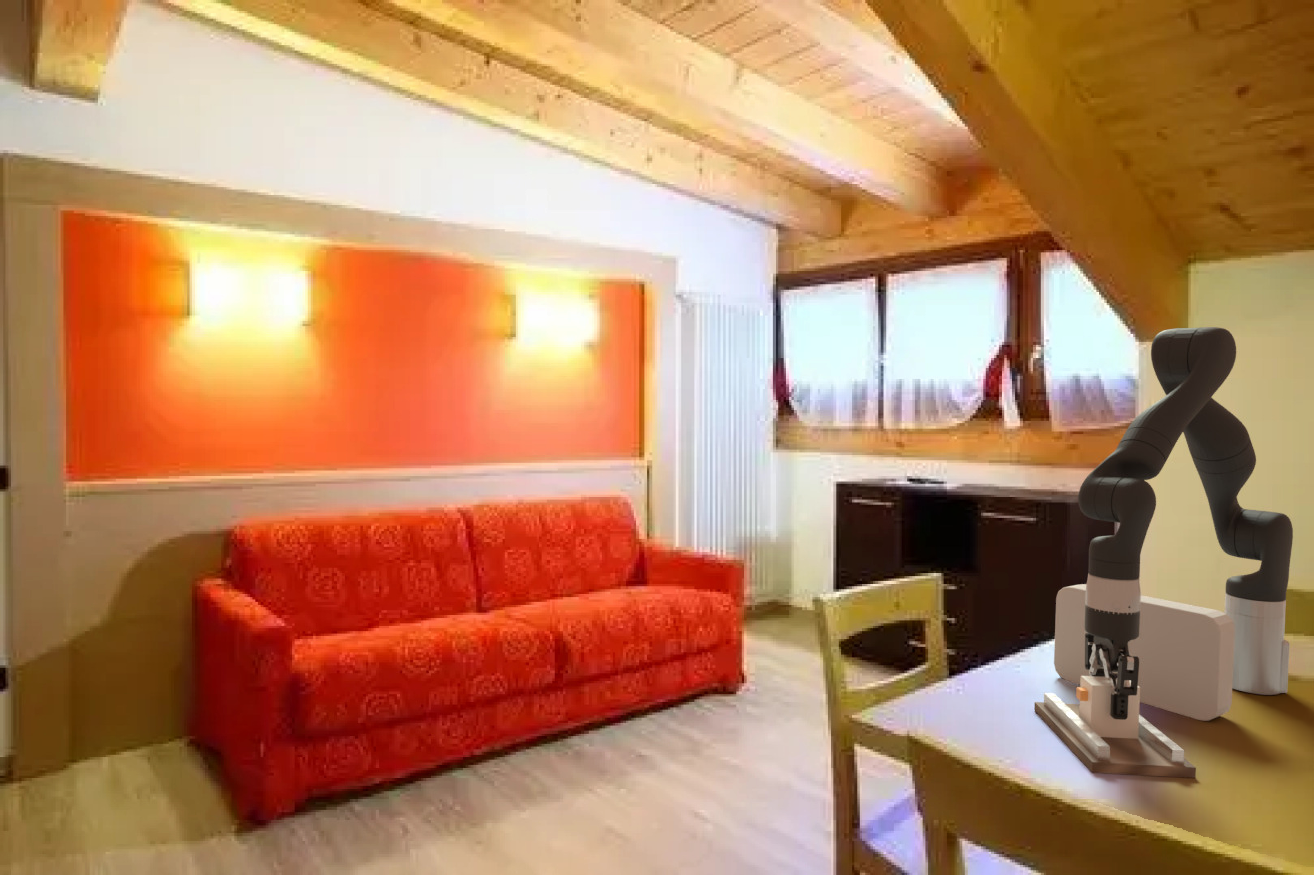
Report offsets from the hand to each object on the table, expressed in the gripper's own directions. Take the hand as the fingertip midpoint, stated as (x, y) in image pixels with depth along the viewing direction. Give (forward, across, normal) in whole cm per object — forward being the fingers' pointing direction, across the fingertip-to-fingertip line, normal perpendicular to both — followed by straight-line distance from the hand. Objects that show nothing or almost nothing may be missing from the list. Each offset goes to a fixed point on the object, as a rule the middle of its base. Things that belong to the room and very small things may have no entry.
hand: (1108, 709), depth 131 cm
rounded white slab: (+5, +22, -14) cm, 27 cm away
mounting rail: (+4, 0, 0) cm, 4 cm away
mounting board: (+5, 0, 0) cm, 5 cm away
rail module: (+4, 0, 0) cm, 4 cm away
